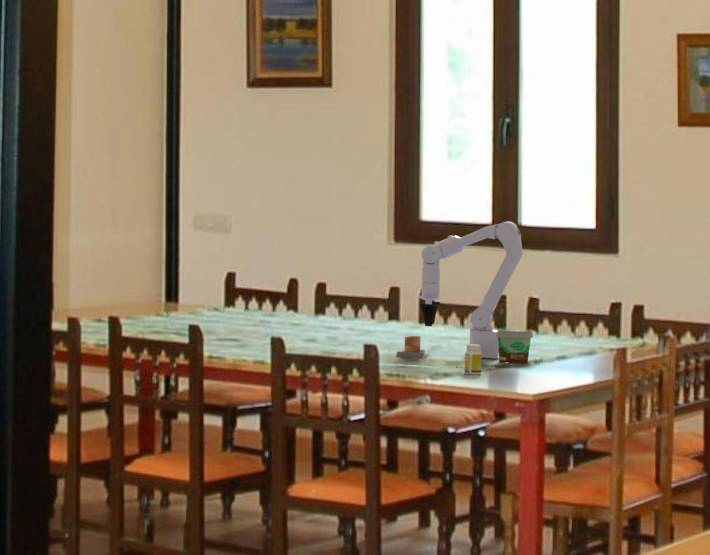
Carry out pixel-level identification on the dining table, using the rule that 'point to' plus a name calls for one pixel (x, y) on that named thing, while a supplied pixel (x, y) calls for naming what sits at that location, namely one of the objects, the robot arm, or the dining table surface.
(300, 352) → the dining table surface
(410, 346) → the terracotta cube
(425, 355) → the walnut base slab
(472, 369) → the supplement bottle
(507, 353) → the food container
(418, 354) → the slate top slab
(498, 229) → the robot arm
